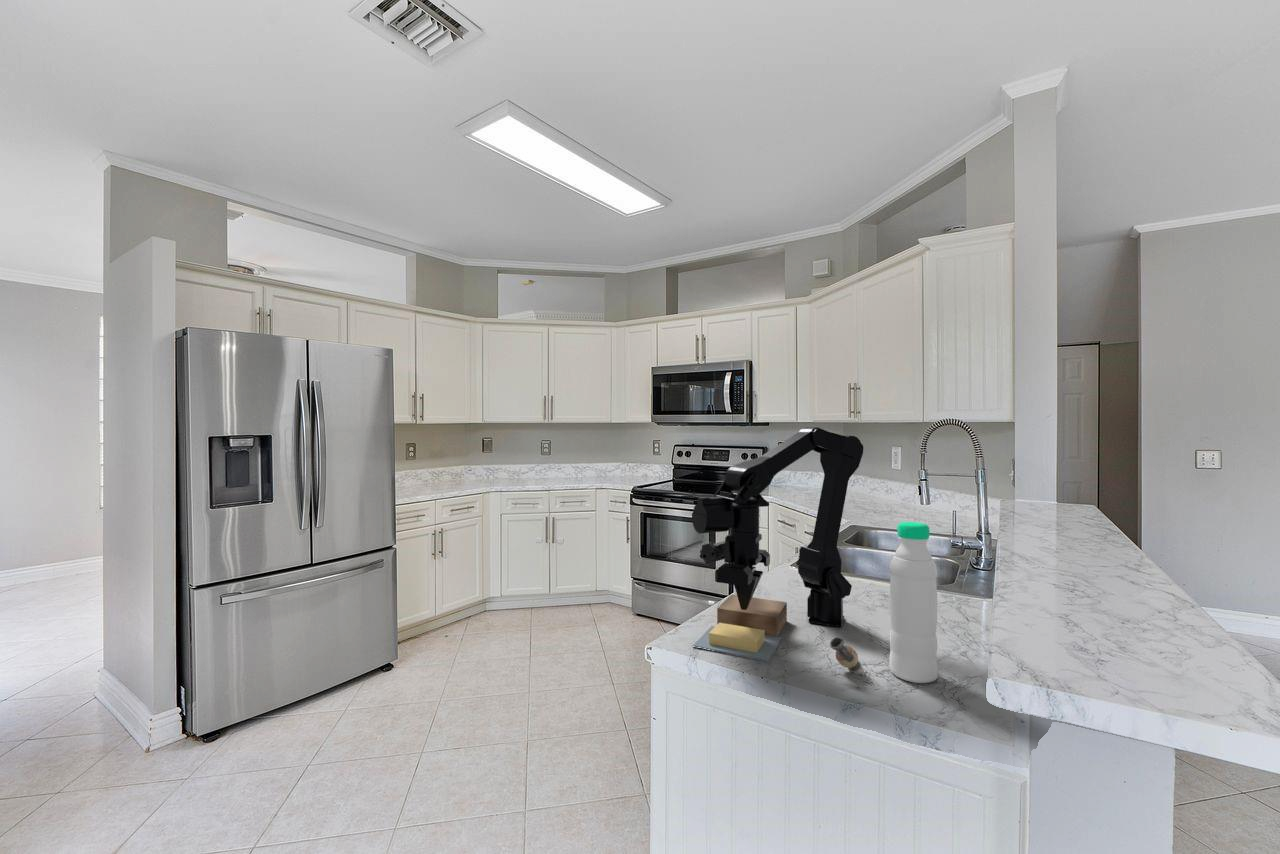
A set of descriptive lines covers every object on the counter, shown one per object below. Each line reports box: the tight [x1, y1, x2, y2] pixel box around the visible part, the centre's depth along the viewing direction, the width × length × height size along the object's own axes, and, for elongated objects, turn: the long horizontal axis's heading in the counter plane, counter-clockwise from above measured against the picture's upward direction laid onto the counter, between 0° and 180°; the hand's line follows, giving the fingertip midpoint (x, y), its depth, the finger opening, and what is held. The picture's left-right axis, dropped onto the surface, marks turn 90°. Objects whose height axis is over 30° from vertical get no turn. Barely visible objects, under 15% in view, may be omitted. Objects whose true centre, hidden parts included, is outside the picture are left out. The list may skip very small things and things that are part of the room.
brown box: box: [716, 594, 788, 637], centre depth 112 cm, size 12×10×4 cm
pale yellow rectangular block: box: [709, 623, 765, 653], centre depth 102 cm, size 9×6×2 cm, turn 64°
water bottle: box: [889, 521, 938, 684], centre depth 89 cm, size 7×7×25 cm
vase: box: [824, 637, 871, 678], centre depth 90 cm, size 5×5×6 cm
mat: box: [692, 625, 782, 663], centre depth 102 cm, size 14×11×1 cm
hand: (744, 609), depth 106 cm, fingers closed
